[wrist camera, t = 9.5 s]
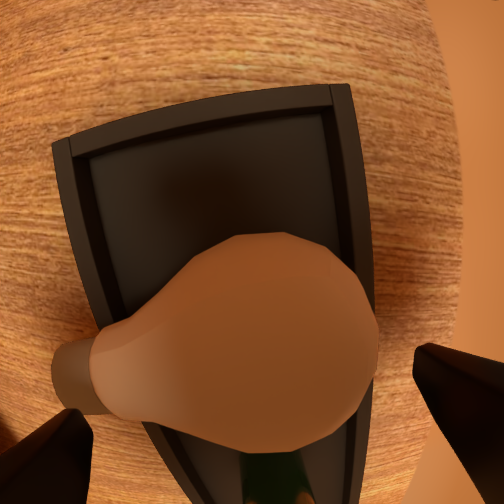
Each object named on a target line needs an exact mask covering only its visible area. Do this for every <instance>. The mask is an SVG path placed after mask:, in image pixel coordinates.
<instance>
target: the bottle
mask: <svg viewBox="0 0 504 504" xmlns="http://www.w3.org/2000/svg"><path fill="white" fill-rule="evenodd" d="M238 461H239V472H240V483H241V493H242V503H243V504H316V500H315V497H314V494H313V490H312V487H311V484H310V480H309V477H308V473H307V470H306V467H305V463H304V460H303V456H302V453H301V450H300V448H299V449H296V450H294V451H291V452H273V453H246V452H241V453H240V455H239V459H238Z"/></svg>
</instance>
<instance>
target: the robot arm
mask: <svg viewBox="0 0 504 504" xmlns="http://www.w3.org/2000/svg"><path fill="white" fill-rule="evenodd" d="M412 374H413V378H414V381H415V383H416V385H417V387H418V388H419V390H420V392H421V394H422V396H423V398H424V400H425V402H426V404H427V406H428V408H429V410H430V412H431V414H432V416H433V418H434V420H435V422H436V423H437V425H438V427H439V428H440V430H441V431H442V433H443V434H444V436H445V438H446V439H447V441H448V442H449V444H450V445H451V447H452V449H453V450H454V452H455V453H456V455H457V457H458V458H459V460H460V462H461V463H462V465H463V466H464V468H465V470H466V471H467V473H468V474H469V476H470V478H471V480H472V481H473V483H474V485H475V486H476V488H477V490H478V492H479V493H480V495H481V497H482V498H483V500H484V502H485V504H504V363H502V362H498V361H494V360H490V359H487V358H483V357H480V356H476V355H472V354H469V353H465V352H462V351H458V350H454V349H451V348H447V347H444V346H440V345H437V344H433V343H426V344H423V345H421V346H418V347H417V348H416V349H415V353H414V362H413V370H412ZM93 437H94V436H93V431H92V429H91V427H90V425H89V424H88V422H87V421H86V419H85V417H84V416H83V414H82V412H81V411H80V410H79V409H76V408H66V409H64V410H62V411H61V412H60V413H58V414H57V415H56V416H54V417H53V418H51V419H50V420H49V421H47V422H46V423H45V424H43V425H42V426H40V427H39V428H38V429H36V430H35V431H34V432H32V433H31V434H29V435H28V436H27V437H25V438H24V439H23V440H21V441H20V442H18V443H17V444H16V445H14V446H13V447H12V448H10V449H9V450H7V451H6V452H5V453H3V454H2V455H0V504H86V501H87V495H88V489H89V483H90V472H91V459H92V448H93Z"/></svg>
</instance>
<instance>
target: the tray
mask: <svg viewBox="0 0 504 504" xmlns="http://www.w3.org/2000/svg"><path fill="white" fill-rule="evenodd" d="M52 152H53V159H54V166H55V172H56V178H57V183H58V189H59V194H60V199H61V204H62V208H63V213H64V217H65V222H66V226H67V230H68V234H69V238H70V242H71V246H72V249H73V253H74V257H75V260H76V263H77V267H78V270H79V274H80V277H81V280H82V283H83V286H84V289H85V292H86V295H87V298H88V301H89V304H90V307H91V310H92V313H93V315H94V318H95V321H96V323H97V326H98V329H99V331H100V332H101V330H102V329H103V328H104V327H107V326H109V325H112V324H114V323H117V322H119V321H122V320H124V319H127V318H129V317H131V316H132V315H133V314H134V313H136V312H137V311H138V310H139V309H140V308H141V307H142V306H144V305H145V304H146V303H147V302H148V301H149V300H150V299H152V298H153V297H154V296H155V295H156V294H157V293H158V292H159V291H160V290H161V289H162V288H163V287H164V286H165V285H166V284H167V283H168V282H169V281H170V280H171V279H172V278H173V277H174V276H175V275H176V274H177V273H178V272H179V271H180V270H181V269H182V268H183V267H184V266H185V265H186V264H187V263H188V262H189V261H190V260H191V259H192V258H193V257H194V256H196V255H198V254H200V253H202V252H204V251H206V250H208V249H210V248H212V247H214V246H216V245H218V244H219V243H221V242H223V241H225V240H227V239H229V238H231V237H233V236H235V235H245V234H260V233H275V232H285V233H288V234H291V235H294V236H297V237H300V238H302V239H305V240H308V241H311V242H314V243H317V244H319V245H322V246H325V247H326V248H328V249H329V250H330V251H331V252H332V253H333V254H334V255H335V256H336V257H337V258H338V259H340V260H341V261H342V262H343V263H344V264H345V265H346V266H347V267H348V268H349V269H350V270H351V271H353V272H354V273H355V274H356V275H357V277H358V279H359V281H360V283H361V285H362V287H363V289H364V291H365V294H366V296H367V299H368V301H369V304H370V306H371V309H372V311H373V314H374V316H375V296H374V268H373V250H372V236H371V223H370V212H369V202H368V193H367V185H366V177H365V169H364V162H363V155H362V149H361V142H360V136H359V130H358V125H357V119H356V114H355V108H354V103H353V98H352V94H351V89H350V85H349V84H347V83H343V84H329V85H328V84H315V85H301V86H289V87H279V88H270V89H261V90H254V91H246V92H240V93H233V94H227V95H221V96H215V97H210V98H204V99H199V100H194V101H189V102H185V103H180V104H176V105H171V106H167V107H163V108H159V109H155V110H151V111H147V112H143V113H140V114H136V115H132V116H129V117H125V118H122V119H119V120H115V121H112V122H109V123H106V124H103V125H100V126H96V127H93V128H91V129H88V130H85V131H82V132H79V133H76V134H74V135H71V136H70V137H66V138H63V139H61V140H58V141H55V142H53V143H52ZM372 392H373V378H372V380H371V382H370V385H369V387H368V389H367V391H366V393H365V395H364V397H363V399H362V401H361V403H360V405H359V407H358V409H357V410H356V412H355V413H354V414H353V415H352V416H351V417H350V418H349V419H347V420H346V421H345V422H344V423H343V424H342V425H341V426H340V427H339V428H338V429H337V430H336V431H334V432H333V433H332V434H330V435H328V436H326V437H324V438H322V439H319V440H317V441H315V442H313V443H310V444H308V445H306V446H303V447H301V448H300V450H301V453H302V456H303V460H304V463H305V467H306V470H307V473H308V477H309V480H310V484H311V487H312V490H313V494H314V497H315V500H316V504H359V498H360V493H361V487H362V481H363V475H364V468H365V461H366V454H367V446H368V437H369V428H370V418H371V406H372ZM141 422H142V424H143V426H144V428H145V430H146V431H147V433H148V435H149V437H150V439H151V440H152V442H153V444H154V446H155V447H156V449H157V451H158V452H159V454H160V456H161V457H162V459H163V460H164V462H165V464H166V465H167V467H168V468H169V470H170V472H171V473H172V475H173V476H174V478H175V479H176V481H177V482H178V484H179V485H180V487H181V488H182V490H183V491H184V493H185V494H186V495H187V497H188V498H189V500H190V501H191V502H192V504H243V503H242V493H241V483H240V472H239V461H238V459H239V455H240V453H241V452H242V451H239V450H235V449H232V448H229V447H226V446H223V445H219V444H216V443H213V442H210V441H208V440H205V439H202V438H199V437H196V436H193V435H191V434H188V433H185V432H181V431H178V430H175V429H172V428H169V427H166V426H163V425H161V424H158V423H155V422H146V421H141Z"/></svg>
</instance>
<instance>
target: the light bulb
mask: <svg viewBox="0 0 504 504" xmlns="http://www.w3.org/2000/svg"><path fill="white" fill-rule="evenodd" d="M378 346H379V327H378V324H377V322H376V319H375V316H374V314H373V311H372V309H371V306H370V304H369V301H368V299H367V296H366V294H365V291H364V289H363V287H362V285H361V283H360V281H359V279H358V277H357V275H356V274H355V273H354V272H353V271H351V270H350V269H349V268H348V267H347V266H346V265H345V264H344V263H343V262H342V261H341V260H340V259H338V258H337V257H336V256H335V255H334V254H333V253H332V252H331V251H330V250H329V249H328V248H326V247H325V246H322V245H319V244H317V243H314V242H311V241H308V240H305V239H302V238H300V237H297V236H294V235H291V234H288V233H285V232H275V233H260V234H245V235H235V236H233V237H231V238H229V239H227V240H225V241H223V242H221V243H219V244H218V245H216V246H214V247H212V248H210V249H208V250H206V251H204V252H202V253H200V254H198V255H196V256H194V257H193V258H192V259H191V260H190V261H189V262H188V263H187V264H186V265H185V266H184V267H183V268H182V269H181V270H180V271H179V272H178V273H177V274H176V275H175V276H174V277H173V278H172V279H171V280H170V281H169V282H168V283H167V284H166V285H165V286H164V287H163V288H162V289H161V290H160V291H159V292H158V293H157V294H156V295H155V296H154V297H153V298H152V299H150V300H149V301H148V302H147V303H146V304H145V305H144V306H142V307H141V308H140V309H139V310H138V311H137V312H136V313H134V314H133V315H132V316H131V317H129V318H127V319H124V320H122V321H119V322H117V323H114V324H112V325H109V326H107V327H104V328H103V329H102V330H101V332H100V333H99V334H98V336H97V337H93V338H88V339H83V340H78V341H72V342H68V343H64V344H62V345H60V347H59V348H58V349H57V350H56V352H55V353H54V356H53V360H52V364H51V375H52V383H53V386H54V389H55V392H56V395H57V396H58V398H59V399H60V401H61V402H62V404H63V405H64V406H65V408H76V409H79V410H80V411H81V412H82V414H83V415H101V414H115V415H116V416H118V417H119V418H121V419H122V420H131V421H146V422H155V423H158V424H161V425H163V426H166V427H169V428H172V429H175V430H178V431H181V432H185V433H188V434H191V435H193V436H196V437H199V438H202V439H205V440H208V441H210V442H213V443H216V444H219V445H223V446H226V447H229V448H232V449H235V450H239V451H242V452H246V453H273V452H291V451H294V450H296V449H299V448H301V447H303V446H306V445H308V444H310V443H313V442H315V441H317V440H319V439H322V438H324V437H326V436H328V435H330V434H332V433H333V432H334V431H336V430H337V429H338V428H339V427H340V426H341V425H342V424H343V423H344V422H345V421H346V420H347V419H349V418H350V417H351V416H352V415H353V414H354V413H355V412H356V410H357V409H358V407H359V405H360V403H361V401H362V399H363V397H364V395H365V393H366V391H367V389H368V387H369V385H370V382H371V380H372V378H373V376H374V374H375V372H376V370H377V359H378Z"/></svg>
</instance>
